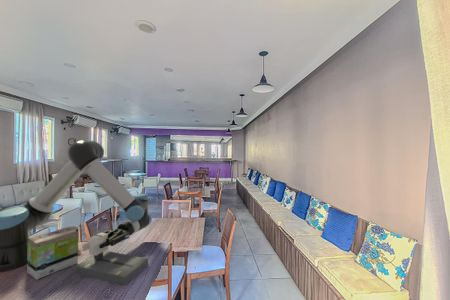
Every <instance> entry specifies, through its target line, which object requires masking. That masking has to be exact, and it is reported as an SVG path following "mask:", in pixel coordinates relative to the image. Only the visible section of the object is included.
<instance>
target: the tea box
mask: <svg viewBox="0 0 450 300" xmlns="http://www.w3.org/2000/svg"><path fill="white" fill-rule="evenodd" d="M66 227H67V228H65V227H63V228H64V229H62V228H60V230H59V229H57V230H53V231H49V232H46V233H41V234H38V235H34V236H29V238H28V250H27V263H26V272H27V274H29V275H30V276H31V277H32V278H34V279H35V280H37V281H38V280H40V279H41V278H43V277H46V276H49V275H51V274H53V273H56V272H59V271H61V270H63V269H66V268H69V267H71V266H75V265H78V261H79V230H78V231H75V230H73V229H71V228H69V227H70V226H66Z"/></svg>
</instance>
